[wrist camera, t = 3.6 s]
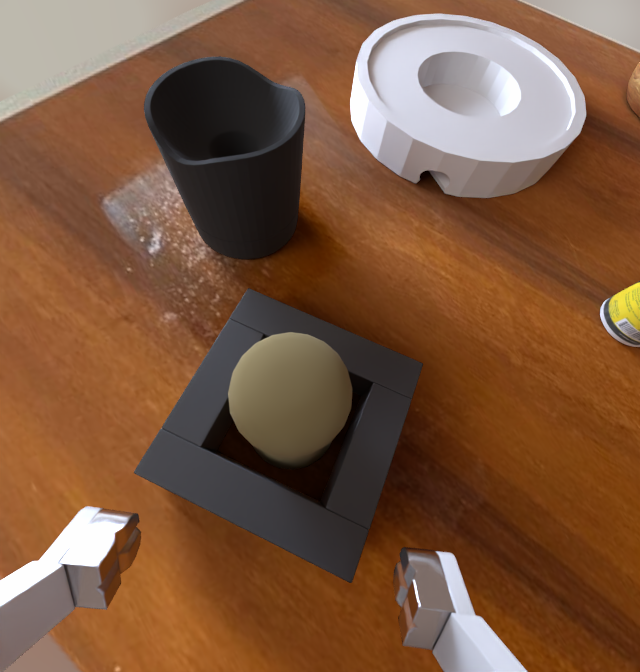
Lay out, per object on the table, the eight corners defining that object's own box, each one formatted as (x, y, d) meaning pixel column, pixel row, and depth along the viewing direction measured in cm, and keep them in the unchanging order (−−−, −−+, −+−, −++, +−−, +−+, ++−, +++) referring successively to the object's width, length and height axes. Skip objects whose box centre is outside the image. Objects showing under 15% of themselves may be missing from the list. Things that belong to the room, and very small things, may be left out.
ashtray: (480, 43, 42) (498, 2, 39) (599, 166, 35) (636, 130, 31) (316, 73, 37) (319, 29, 34) (414, 224, 30) (431, 190, 26)
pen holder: (287, 175, 31) (284, 50, 22) (313, 254, 28) (323, 147, 19) (186, 189, 30) (137, 62, 20) (201, 276, 26) (151, 170, 17)
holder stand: (341, 562, 20) (352, 584, 16) (161, 472, 21) (132, 472, 17) (403, 379, 24) (423, 363, 21) (254, 314, 25) (247, 287, 22)
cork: (349, 449, 22) (396, 431, 12) (262, 484, 21) (233, 497, 11) (317, 368, 24) (335, 293, 14) (237, 396, 23) (192, 336, 13)
